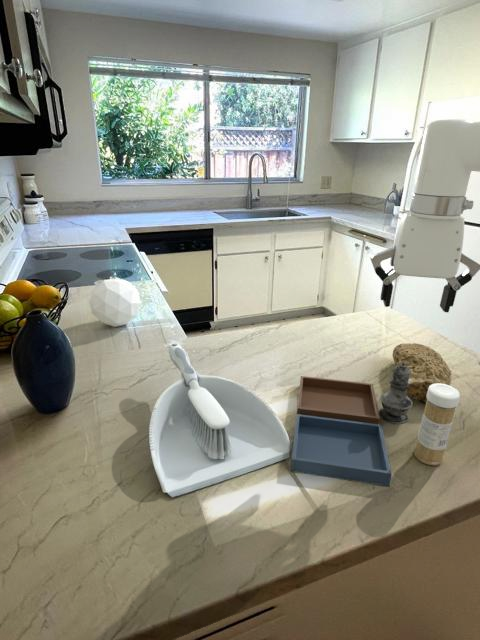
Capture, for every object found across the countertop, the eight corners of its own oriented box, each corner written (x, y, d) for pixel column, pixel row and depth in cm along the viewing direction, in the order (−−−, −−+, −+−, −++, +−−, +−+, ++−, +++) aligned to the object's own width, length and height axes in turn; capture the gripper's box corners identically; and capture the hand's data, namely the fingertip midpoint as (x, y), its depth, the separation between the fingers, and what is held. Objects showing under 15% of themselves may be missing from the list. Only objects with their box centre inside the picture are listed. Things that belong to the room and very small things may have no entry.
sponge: (449, 416, 81) (455, 357, 95) (448, 386, 77) (455, 330, 92) (381, 407, 88) (396, 353, 102) (378, 379, 84) (394, 327, 98)
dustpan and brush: (163, 502, 59) (158, 451, 55) (121, 389, 86) (116, 350, 83) (296, 456, 68) (300, 409, 64) (220, 367, 95) (220, 331, 92)
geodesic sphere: (77, 318, 106) (106, 273, 105) (74, 301, 118) (100, 260, 117) (126, 342, 114) (154, 300, 113) (119, 323, 126) (144, 286, 125)
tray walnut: (371, 393, 86) (373, 383, 85) (378, 429, 75) (380, 418, 74) (299, 385, 89) (300, 375, 88) (296, 419, 77) (297, 408, 77)
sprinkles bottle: (431, 446, 71) (448, 380, 66) (448, 465, 67) (467, 396, 61) (407, 449, 70) (422, 383, 65) (423, 468, 66) (440, 399, 61)
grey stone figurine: (373, 407, 81) (382, 354, 77) (401, 406, 82) (411, 354, 77) (384, 425, 76) (395, 370, 71) (414, 424, 76) (427, 369, 72)
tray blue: (379, 435, 73) (381, 424, 72) (389, 486, 62) (391, 473, 61) (295, 424, 76) (296, 413, 75) (290, 471, 65) (291, 459, 64)
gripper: (486, 206, 66) (461, 304, 72) (376, 201, 69) (362, 295, 75) (504, 212, 59) (474, 320, 66) (382, 206, 62) (365, 309, 69)
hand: (414, 306), depth 71 cm, fingers open, 9 cm apart
